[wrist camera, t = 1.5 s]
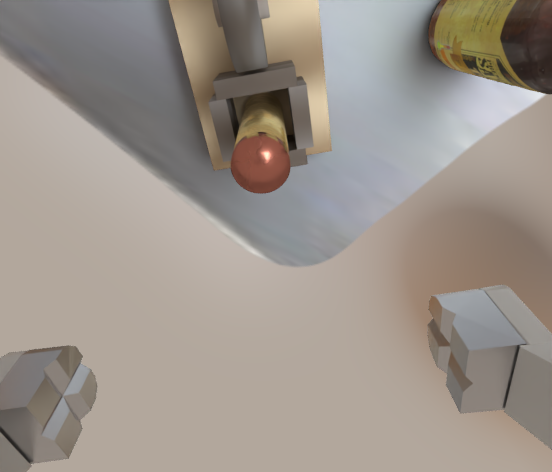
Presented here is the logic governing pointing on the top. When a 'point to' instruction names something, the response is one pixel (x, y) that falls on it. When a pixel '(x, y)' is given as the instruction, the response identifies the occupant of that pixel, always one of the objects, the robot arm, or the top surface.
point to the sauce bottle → (496, 40)
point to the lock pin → (261, 146)
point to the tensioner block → (255, 69)
